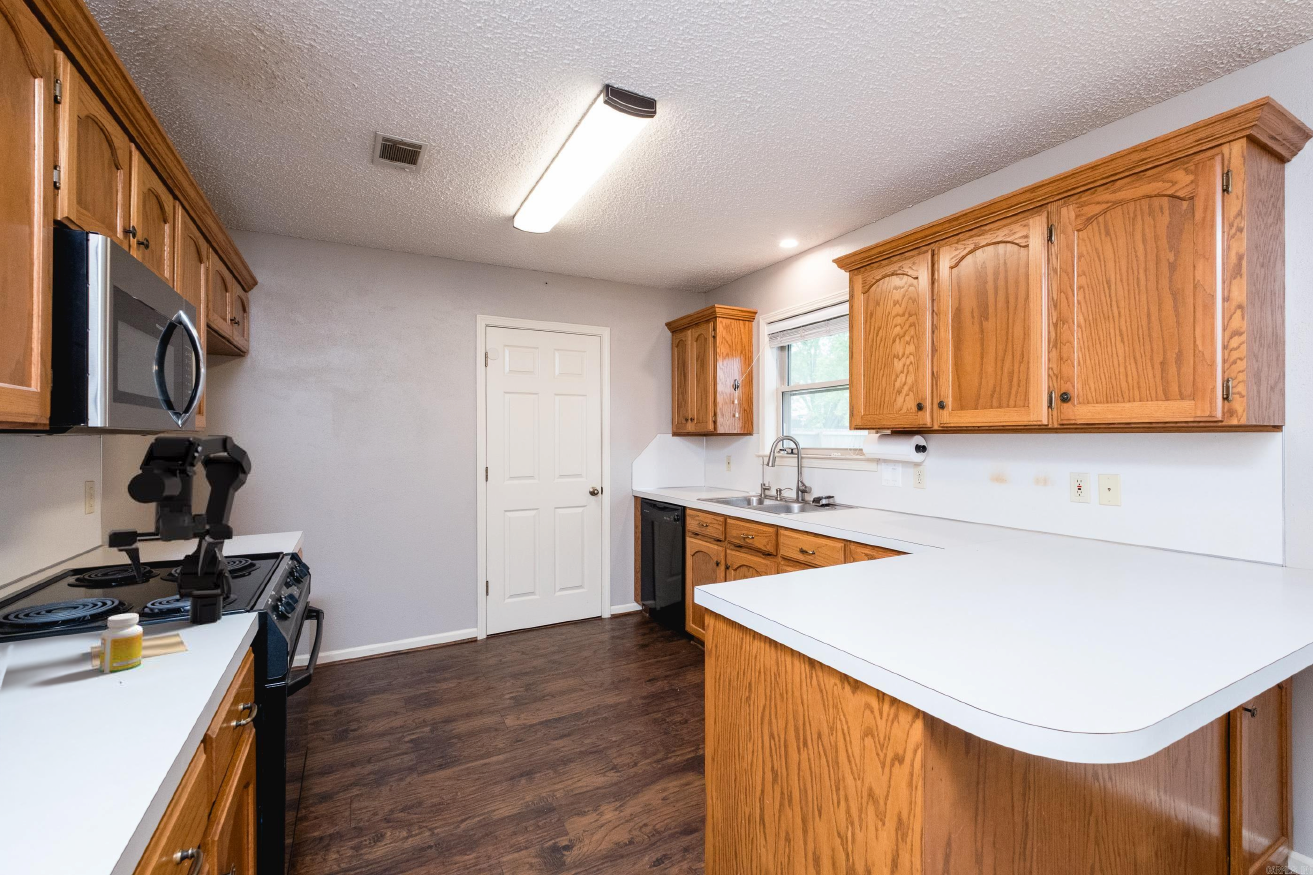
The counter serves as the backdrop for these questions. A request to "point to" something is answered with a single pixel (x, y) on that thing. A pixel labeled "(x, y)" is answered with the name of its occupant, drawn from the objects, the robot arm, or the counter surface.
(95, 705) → the counter surface
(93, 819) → the counter surface
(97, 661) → the plywood panel
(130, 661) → the supplement bottle
